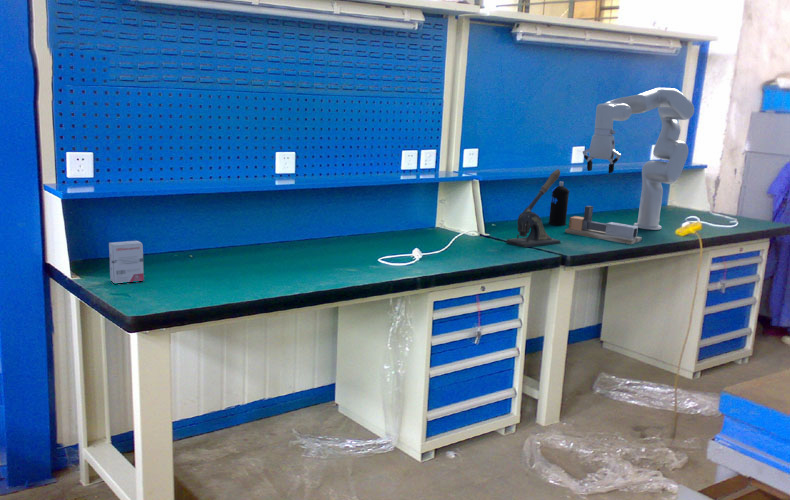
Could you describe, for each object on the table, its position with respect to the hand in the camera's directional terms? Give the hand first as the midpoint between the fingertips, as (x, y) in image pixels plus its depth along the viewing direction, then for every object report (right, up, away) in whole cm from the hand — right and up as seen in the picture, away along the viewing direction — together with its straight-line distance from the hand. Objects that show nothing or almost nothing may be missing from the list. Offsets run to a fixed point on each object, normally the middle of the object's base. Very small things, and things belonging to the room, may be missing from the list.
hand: (599, 171), depth 322 cm
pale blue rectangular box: (+7, -29, -8) cm, 31 cm away
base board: (0, -29, -3) cm, 29 cm away
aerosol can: (-14, -23, +21) cm, 34 cm away
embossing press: (-34, -32, -24) cm, 52 cm away
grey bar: (-2, -26, -1) cm, 26 cm away
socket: (-9, -25, +4) cm, 27 cm away
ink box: (-169, -44, -108) cm, 205 cm away
